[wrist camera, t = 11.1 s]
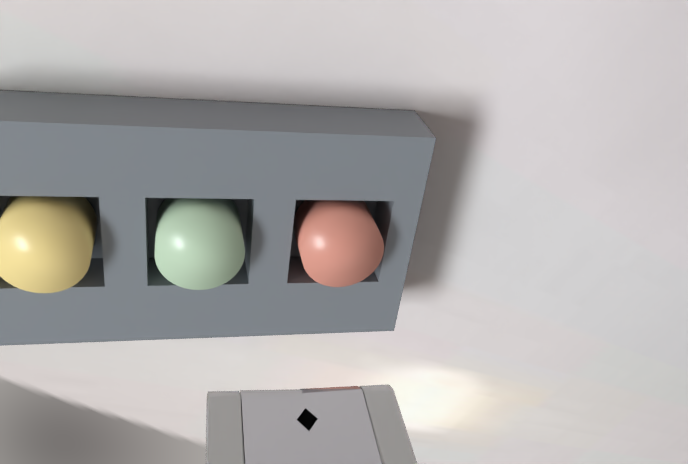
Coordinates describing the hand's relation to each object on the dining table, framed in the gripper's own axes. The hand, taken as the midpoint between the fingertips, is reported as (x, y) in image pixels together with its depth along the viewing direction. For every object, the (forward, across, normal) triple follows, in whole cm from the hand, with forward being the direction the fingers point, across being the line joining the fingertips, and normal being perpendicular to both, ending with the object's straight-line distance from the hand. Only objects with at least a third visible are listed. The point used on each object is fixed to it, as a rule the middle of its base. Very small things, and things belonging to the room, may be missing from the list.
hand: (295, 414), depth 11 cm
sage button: (+22, +2, +10) cm, 24 cm away
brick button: (+22, -5, +10) cm, 25 cm away
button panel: (+23, +2, +10) cm, 25 cm away
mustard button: (+22, +9, +10) cm, 25 cm away
